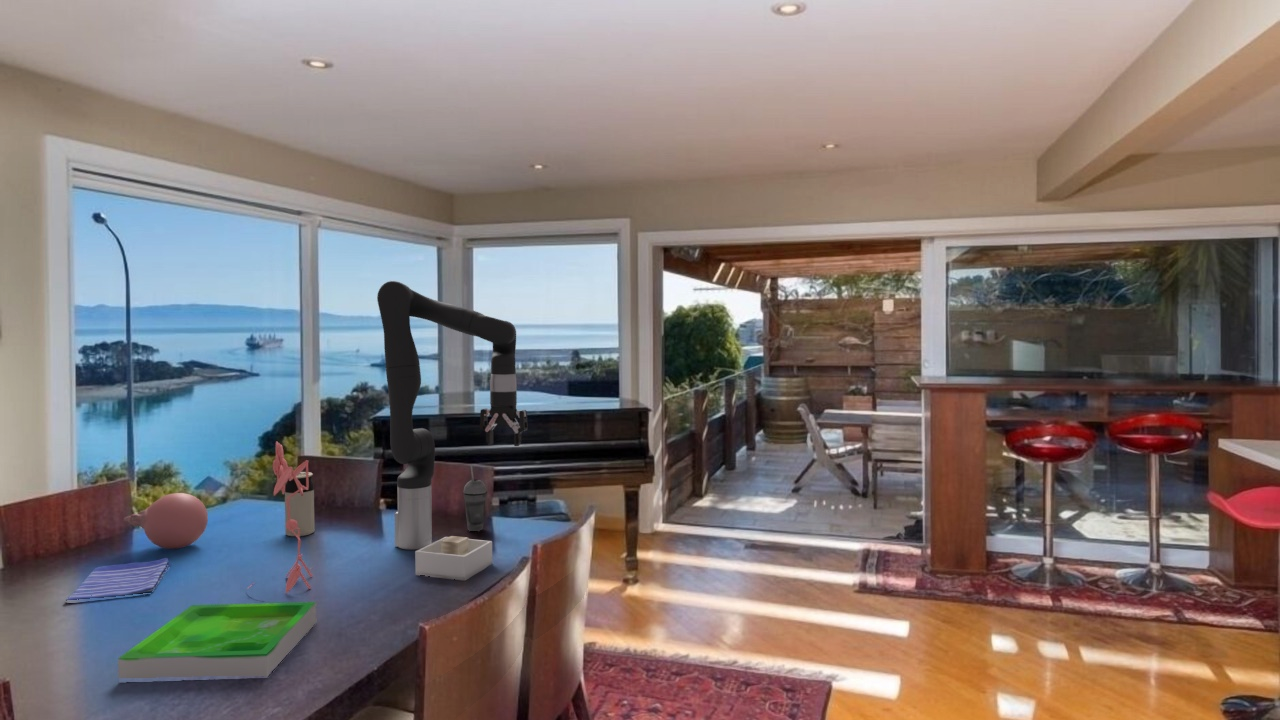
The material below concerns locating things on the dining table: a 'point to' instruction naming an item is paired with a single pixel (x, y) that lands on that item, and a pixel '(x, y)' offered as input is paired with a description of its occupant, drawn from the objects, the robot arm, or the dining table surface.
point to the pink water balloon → (172, 520)
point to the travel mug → (300, 505)
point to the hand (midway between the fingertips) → (503, 445)
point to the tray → (220, 641)
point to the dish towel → (122, 580)
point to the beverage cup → (475, 503)
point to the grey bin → (453, 560)
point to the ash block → (455, 545)
